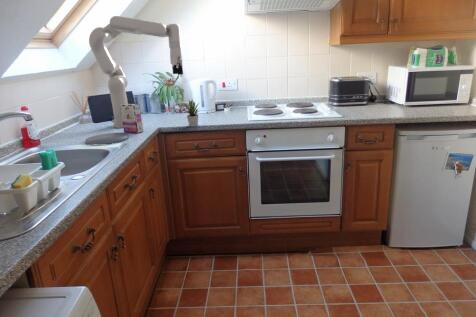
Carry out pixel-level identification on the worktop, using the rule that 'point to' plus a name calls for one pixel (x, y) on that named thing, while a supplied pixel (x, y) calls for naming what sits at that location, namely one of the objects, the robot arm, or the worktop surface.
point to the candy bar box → (131, 118)
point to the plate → (107, 138)
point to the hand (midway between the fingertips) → (177, 74)
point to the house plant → (192, 113)
